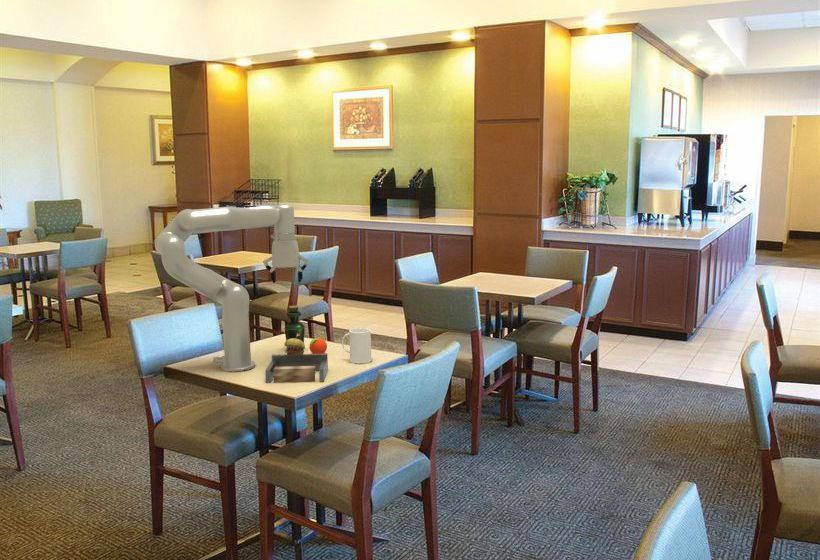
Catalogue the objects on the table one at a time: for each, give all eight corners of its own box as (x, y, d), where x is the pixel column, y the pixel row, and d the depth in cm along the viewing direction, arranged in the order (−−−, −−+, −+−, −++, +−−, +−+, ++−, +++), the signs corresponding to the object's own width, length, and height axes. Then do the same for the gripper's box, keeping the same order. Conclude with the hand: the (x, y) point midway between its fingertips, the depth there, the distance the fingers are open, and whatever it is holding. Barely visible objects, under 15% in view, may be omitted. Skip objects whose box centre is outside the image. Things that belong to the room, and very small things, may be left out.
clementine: (318, 358, 270) (317, 340, 269) (304, 356, 273) (303, 339, 272) (330, 353, 277) (330, 336, 276) (316, 351, 280) (316, 334, 279)
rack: (265, 383, 240) (265, 366, 239) (273, 370, 254) (272, 354, 254) (323, 381, 240) (323, 364, 239) (328, 369, 255) (327, 353, 254)
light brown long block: (273, 383, 240) (272, 369, 239) (275, 380, 243) (274, 366, 242) (315, 382, 241) (314, 368, 240) (316, 379, 243) (315, 365, 243)
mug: (338, 361, 265) (337, 331, 263) (348, 356, 273) (347, 326, 271) (365, 364, 260) (364, 333, 258) (375, 359, 268) (374, 328, 266)
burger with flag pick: (281, 366, 259) (279, 335, 257) (292, 361, 266) (290, 331, 264) (299, 368, 256) (297, 337, 254) (309, 363, 263) (308, 332, 261)
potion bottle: (286, 347, 287) (284, 305, 284) (306, 347, 288) (304, 304, 285) (284, 352, 279) (282, 309, 276) (305, 352, 280) (303, 308, 277)
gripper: (260, 238, 259) (262, 284, 261) (306, 238, 259) (308, 283, 262) (263, 237, 266) (266, 281, 269) (309, 236, 266) (310, 280, 269)
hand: (287, 282), depth 265 cm, fingers open, 9 cm apart
